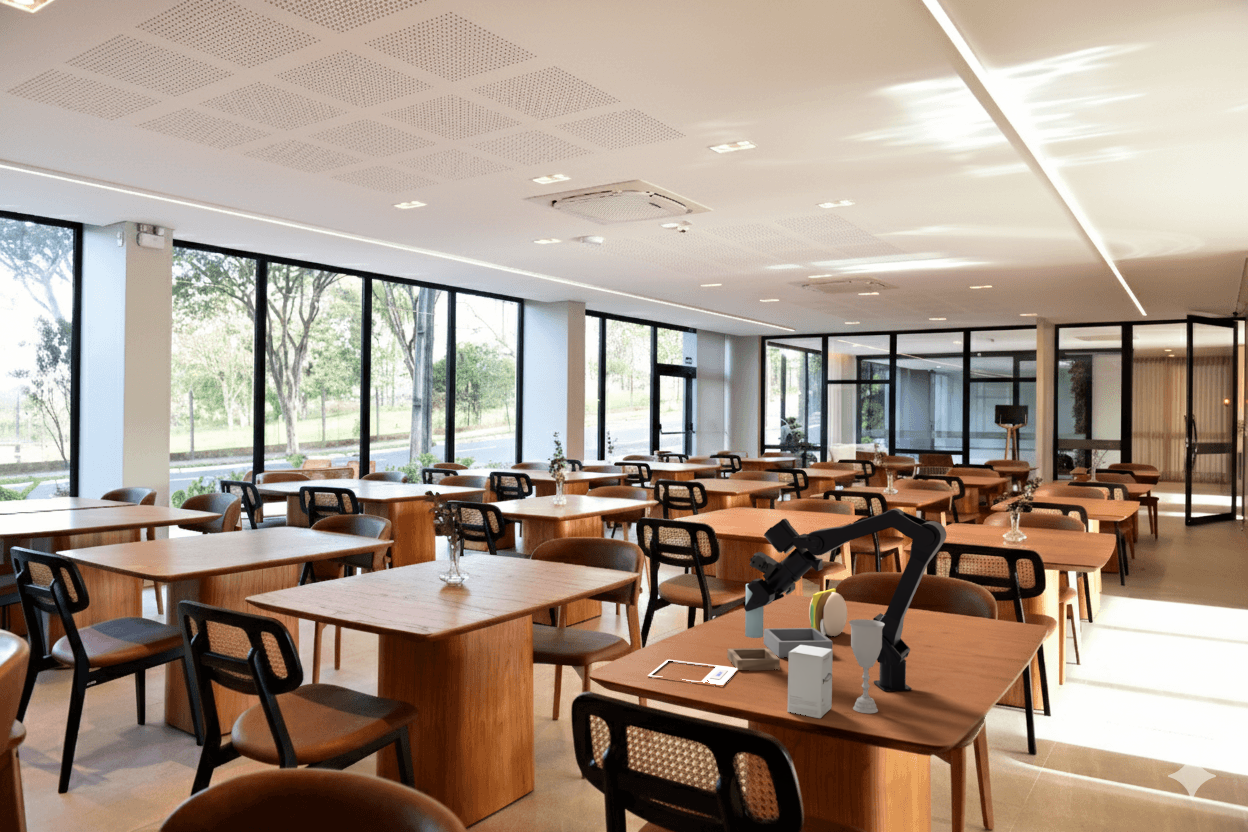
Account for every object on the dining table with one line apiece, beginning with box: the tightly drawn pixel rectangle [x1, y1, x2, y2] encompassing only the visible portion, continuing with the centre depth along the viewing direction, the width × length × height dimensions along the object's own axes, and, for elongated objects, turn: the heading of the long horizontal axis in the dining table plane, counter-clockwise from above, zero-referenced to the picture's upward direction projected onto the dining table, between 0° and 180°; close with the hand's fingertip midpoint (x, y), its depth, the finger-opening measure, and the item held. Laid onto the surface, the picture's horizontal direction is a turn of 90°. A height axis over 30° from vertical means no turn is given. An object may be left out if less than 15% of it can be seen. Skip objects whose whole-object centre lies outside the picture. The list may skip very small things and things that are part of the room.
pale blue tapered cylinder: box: [744, 583, 765, 639], centre depth 213 cm, size 4×4×12 cm
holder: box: [726, 647, 781, 671], centre depth 213 cm, size 10×10×2 cm
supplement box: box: [786, 645, 834, 719], centre depth 179 cm, size 7×7×13 cm
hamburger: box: [808, 587, 848, 637], centre depth 243 cm, size 12×8×12 cm
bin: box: [763, 627, 833, 659], centre depth 226 cm, size 14×14×4 cm
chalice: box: [848, 618, 885, 714], centre depth 181 cm, size 7×7×18 cm
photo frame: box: [647, 659, 738, 685], centre depth 204 cm, size 15×1×18 cm
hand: (749, 608), depth 214 cm, fingers closed on pale blue tapered cylinder, 4 cm apart
